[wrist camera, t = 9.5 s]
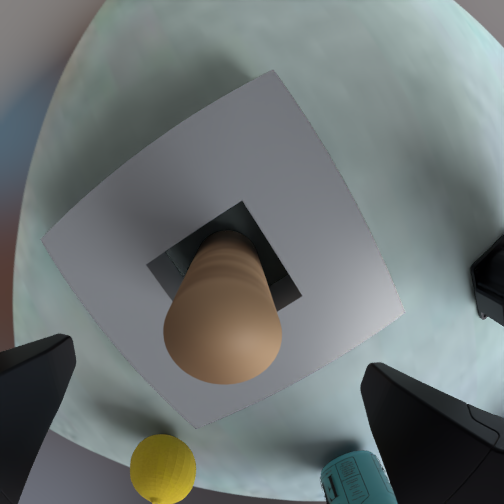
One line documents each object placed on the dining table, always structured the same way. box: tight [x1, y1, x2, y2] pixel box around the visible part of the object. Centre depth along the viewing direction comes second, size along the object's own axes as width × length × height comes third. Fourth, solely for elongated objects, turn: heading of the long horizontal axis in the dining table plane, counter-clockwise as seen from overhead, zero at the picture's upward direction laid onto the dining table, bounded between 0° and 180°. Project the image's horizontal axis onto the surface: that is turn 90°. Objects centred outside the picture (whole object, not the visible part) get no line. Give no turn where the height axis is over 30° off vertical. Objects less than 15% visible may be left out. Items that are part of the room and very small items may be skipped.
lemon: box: [130, 434, 196, 504], centre depth 19 cm, size 6×6×8 cm
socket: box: [41, 70, 406, 429], centre depth 17 cm, size 16×16×4 cm
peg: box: [163, 230, 282, 385], centre depth 15 cm, size 4×4×10 cm
